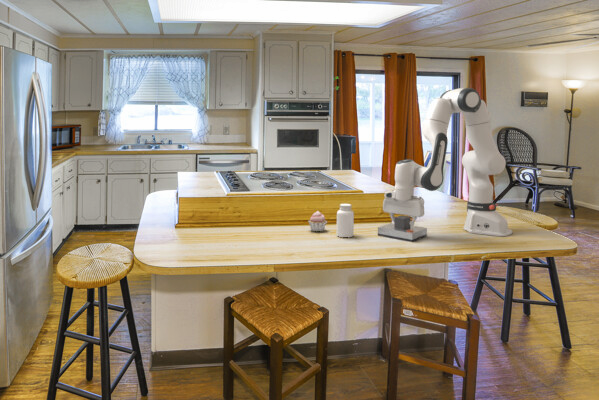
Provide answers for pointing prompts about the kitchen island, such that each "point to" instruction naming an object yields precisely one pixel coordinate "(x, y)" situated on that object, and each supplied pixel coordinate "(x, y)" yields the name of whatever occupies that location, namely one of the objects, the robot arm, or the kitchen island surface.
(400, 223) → the plug
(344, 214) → the pill bottle
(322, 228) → the cupcake
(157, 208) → the kitchen island surface
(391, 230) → the socket
